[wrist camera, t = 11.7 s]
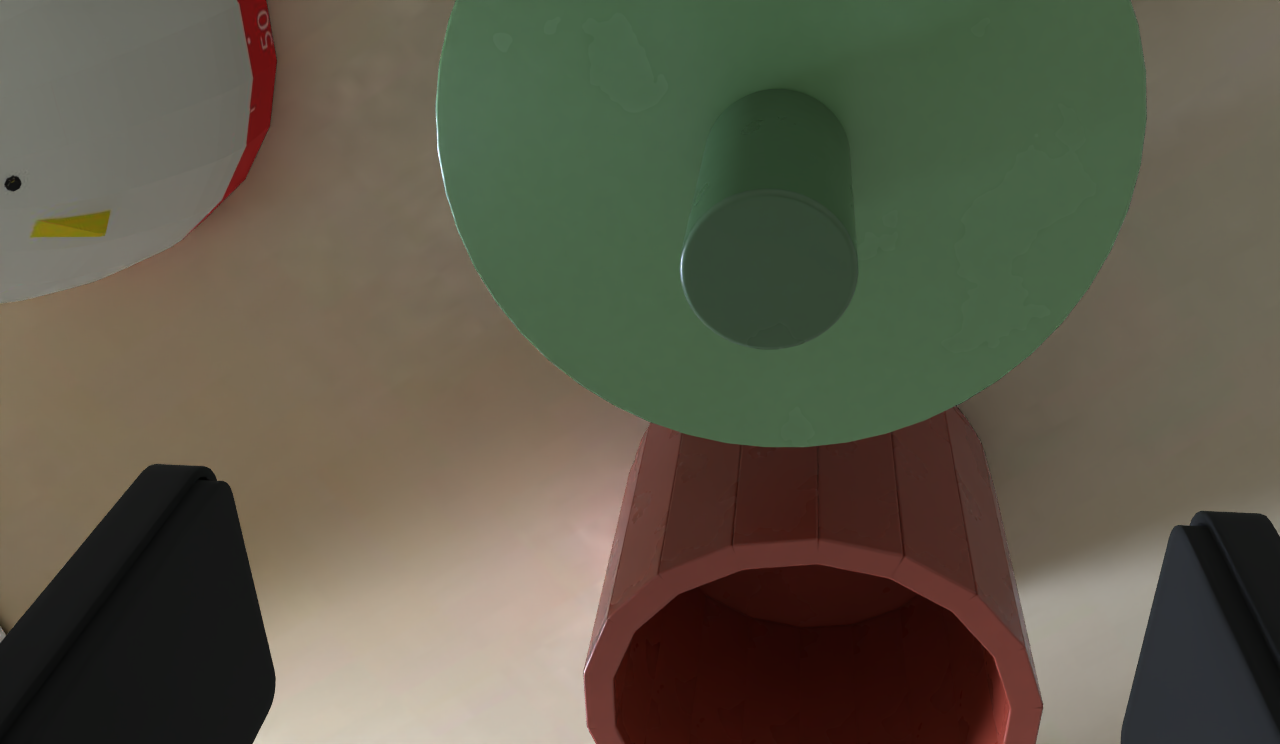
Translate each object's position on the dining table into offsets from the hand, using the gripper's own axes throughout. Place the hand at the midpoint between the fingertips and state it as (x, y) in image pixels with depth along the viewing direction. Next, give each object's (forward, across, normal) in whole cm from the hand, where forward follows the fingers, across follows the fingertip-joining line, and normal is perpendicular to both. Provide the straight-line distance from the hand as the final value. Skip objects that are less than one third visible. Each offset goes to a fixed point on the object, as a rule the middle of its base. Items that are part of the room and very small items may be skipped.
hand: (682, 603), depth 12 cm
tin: (+23, -2, +15) cm, 27 cm away
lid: (+12, -1, -1) cm, 12 cm away
